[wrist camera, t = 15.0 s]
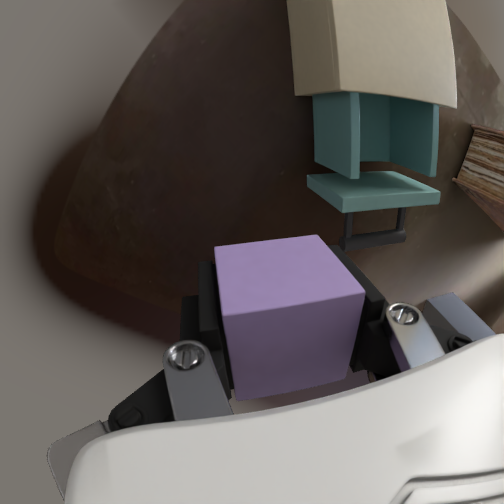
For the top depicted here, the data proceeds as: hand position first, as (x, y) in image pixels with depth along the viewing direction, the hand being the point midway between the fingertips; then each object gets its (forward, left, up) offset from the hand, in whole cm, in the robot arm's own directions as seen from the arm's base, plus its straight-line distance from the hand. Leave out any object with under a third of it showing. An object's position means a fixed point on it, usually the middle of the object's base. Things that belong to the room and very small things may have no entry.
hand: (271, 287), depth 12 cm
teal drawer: (+13, +3, -17) cm, 21 cm away
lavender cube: (0, 0, 0) cm, 0 cm away
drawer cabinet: (+13, +15, -18) cm, 26 cm away
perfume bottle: (+33, -24, -18) cm, 44 cm away
